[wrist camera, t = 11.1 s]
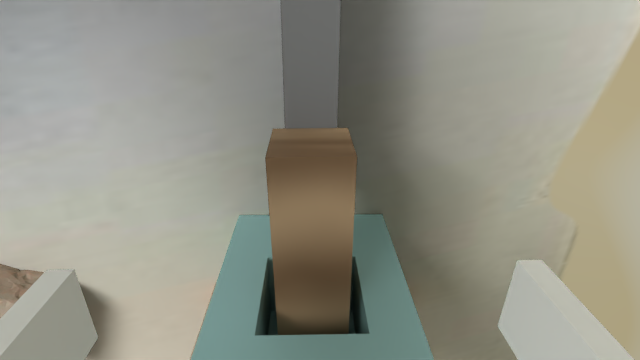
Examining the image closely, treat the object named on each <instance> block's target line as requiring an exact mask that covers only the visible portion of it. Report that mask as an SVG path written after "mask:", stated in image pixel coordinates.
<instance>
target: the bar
mask: <svg viewBox="0 0 640 360" xmlns="http://www.w3.org/2000/svg"><path fill="white" fill-rule="evenodd" d="M265 159H266V173H267V187H268V202H269V216H270V230H271V245H272V259H273V273H274V288H275V302H276V316H277V331H278V335H319V334H349V313H350V293H351V272H352V251H353V230H354V209H355V189H356V168H357V155H356V152H355V149H354V145H353V142H352V139H351V136H350V133H349V130H348V128H290V129H273V130H272V134H271V138H270V142H269V146H268V150H267V153H266V157H265Z"/></svg>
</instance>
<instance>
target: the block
mask: <svg viewBox="0 0 640 360" xmlns="http://www.w3.org/2000/svg"><path fill="white" fill-rule="evenodd" d="M191 360H434V358H433V355H432V353H431V350H430V347H429V344H428V341H427V339H426V336H425V333H424V330H423V327H422V324H421V322H420V319H419V316H418V313H417V310H416V308H415V305H414V302H413V299H412V296H411V294H410V291H409V288H408V285H407V282H406V280H405V277H404V274H403V271H402V268H401V265H400V263H399V260H398V257H397V254H396V251H395V249H394V246H393V243H392V240H391V237H390V235H389V232H388V229H387V226H386V223H385V221H384V218H383V215H382V214H354V230H353V251H352V272H351V293H350V313H349V334H319V335H278V331H277V316H276V302H275V288H274V273H273V259H272V245H271V230H270V216H269V215H239V218H238V221H237V223H236V226H235V229H234V232H233V235H232V238H231V241H230V244H229V247H228V250H227V253H226V256H225V259H224V262H223V265H222V268H221V271H220V274H219V277H218V280H217V283H216V286H215V289H214V292H213V295H212V297H211V300H210V303H209V306H208V309H207V312H206V315H205V318H204V321H203V324H202V327H201V330H200V333H199V336H198V339H197V342H196V345H195V348H194V351H193V354H192V357H191Z"/></svg>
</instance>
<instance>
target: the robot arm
mask: <svg viewBox="0 0 640 360" xmlns="http://www.w3.org/2000/svg"><path fill="white" fill-rule="evenodd" d="M498 328H499V329H500V331H501V333H502V334H503V336H504V338H505V339H506V341H507V343H508V344H509V346H510V348H511V349H512V351H513V353H514V354H515V356H516V358H517V359H518V360H635V359H634V358H633V357H632V356H631V355H630V354H629V353H628V352H627V351H626V350H625V349H624V348H623V347H622V345H621V344H620V343H619V342H618V341H617V340H616V339H615V338H614V337H613V336H612V335H611V334H610V333H609V332H608V331H607V329H605V327H604V326H603V325H602V324H601V323H600V322H599V321H598V320H597V319H596V318H595V317H594V316H593V314H592V313H591V312H590V311H589V310H588V309H587V308H586V307H585V306H584V305H583V304H582V302H581V301H580V300H579V299H578V298H577V297H576V296H575V295H574V294H573V293H572V292H571V291H570V290H569V288H568V287H567V286H566V285H565V284H564V283H563V282H562V281H561V280H560V279H559V278H558V277H557V276H556V274H555V273H554V272H553V271H552V270H551V269H550V268H549V267H548V266H547V265H546V264H545V263H544V262H543V260H517V263H516V266H515V269H514V272H513V276H512V279H511V282H510V286H509V289H508V292H507V296H506V299H505V302H504V306H503V309H502V312H501V316H500V319H499V322H498ZM97 339H98V335H97V332H96V330H95V327H94V324H93V321H92V318H91V315H90V313H89V310H88V307H87V304H86V301H85V298H84V296H83V293H82V290H81V287H80V284H79V282H78V279H77V276H76V273H75V270H74V269H60V270H46V271H45V272H44V273H43V274H42V275H41V276H40V277H39V279H38V280H37V281H36V282H35V283H34V284H33V285H32V286H31V287H30V288H29V289H28V290H27V291H26V292H25V293H24V294H23V295H22V296H21V297H20V298H19V300H18V301H17V302H16V303H15V304H14V305H13V306H12V307H11V308H10V309H9V310H8V311H7V312H6V313H5V314H4V315H3V316H2V317H1V318H0V360H85V358H86V357H87V355H88V353H89V352H90V350H91V348H92V347H93V345H94V344H95V342H96V340H97Z"/></svg>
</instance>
